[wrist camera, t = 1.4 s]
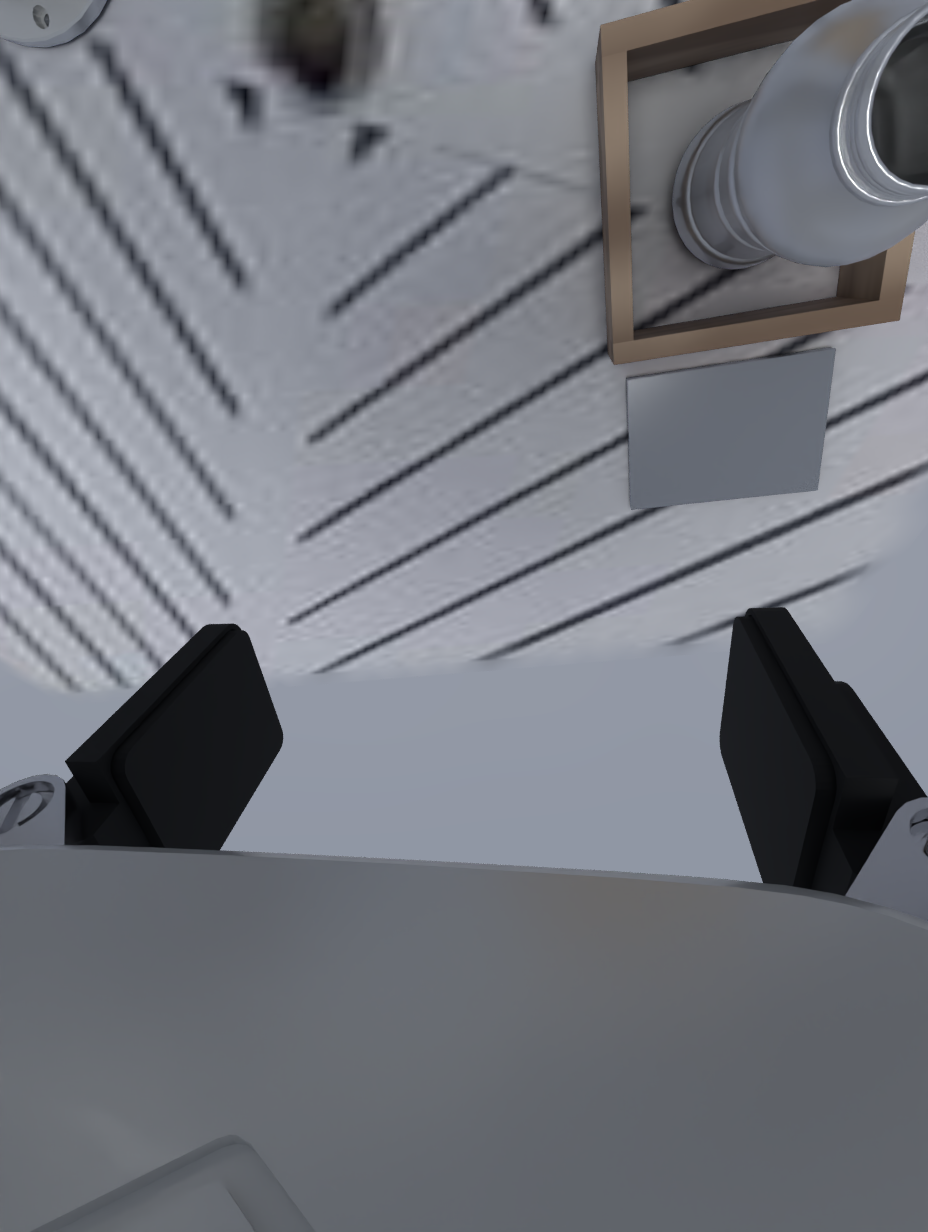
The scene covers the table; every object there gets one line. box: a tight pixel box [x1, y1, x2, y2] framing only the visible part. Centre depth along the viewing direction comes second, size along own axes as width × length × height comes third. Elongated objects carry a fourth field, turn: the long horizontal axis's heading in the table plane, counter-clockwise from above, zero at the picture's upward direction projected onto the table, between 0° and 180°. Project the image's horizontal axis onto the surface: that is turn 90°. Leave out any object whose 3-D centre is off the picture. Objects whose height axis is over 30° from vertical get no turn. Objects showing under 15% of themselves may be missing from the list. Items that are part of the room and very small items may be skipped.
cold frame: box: [595, 0, 915, 365], centre depth 28 cm, size 13×13×5 cm
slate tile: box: [626, 347, 836, 510], centre depth 35 cm, size 8×11×1 cm
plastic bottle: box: [672, 0, 928, 269], centre depth 21 cm, size 6×7×20 cm
